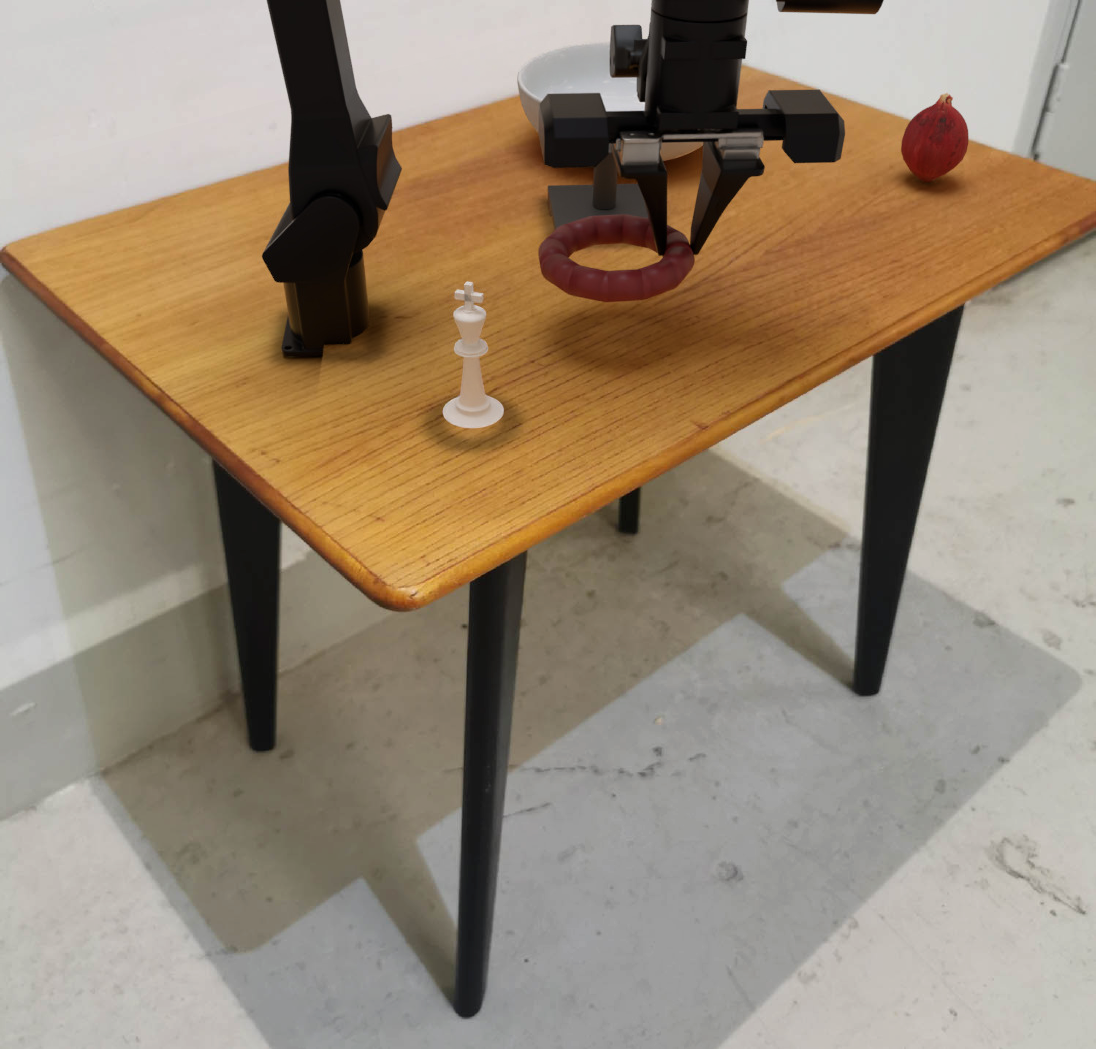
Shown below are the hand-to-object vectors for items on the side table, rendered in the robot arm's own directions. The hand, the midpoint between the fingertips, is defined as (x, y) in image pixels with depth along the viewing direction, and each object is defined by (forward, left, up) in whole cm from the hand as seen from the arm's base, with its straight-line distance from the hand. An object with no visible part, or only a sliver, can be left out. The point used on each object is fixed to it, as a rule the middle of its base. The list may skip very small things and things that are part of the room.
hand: (677, 252), depth 76 cm
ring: (0, +4, 0) cm, 4 cm away
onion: (+28, -29, -7) cm, 41 cm away
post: (+21, +2, -7) cm, 22 cm away
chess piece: (-9, +14, -7) cm, 18 cm away
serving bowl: (+38, -2, -7) cm, 39 cm away
